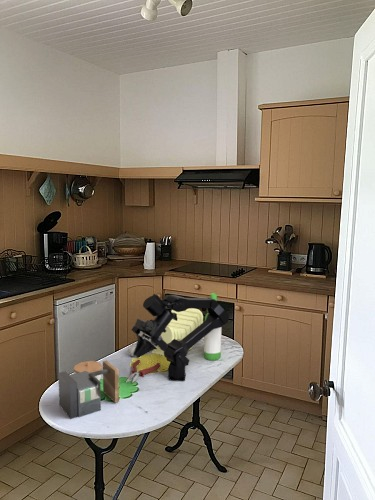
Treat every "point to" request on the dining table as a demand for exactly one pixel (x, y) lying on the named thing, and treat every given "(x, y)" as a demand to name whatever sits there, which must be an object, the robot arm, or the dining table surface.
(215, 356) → the wine bottle
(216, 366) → the dining table surface
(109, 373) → the wooden slab
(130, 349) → the garlic
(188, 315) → the slatted curved stool
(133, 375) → the pliers
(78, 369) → the lidded jar
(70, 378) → the grey notched block
